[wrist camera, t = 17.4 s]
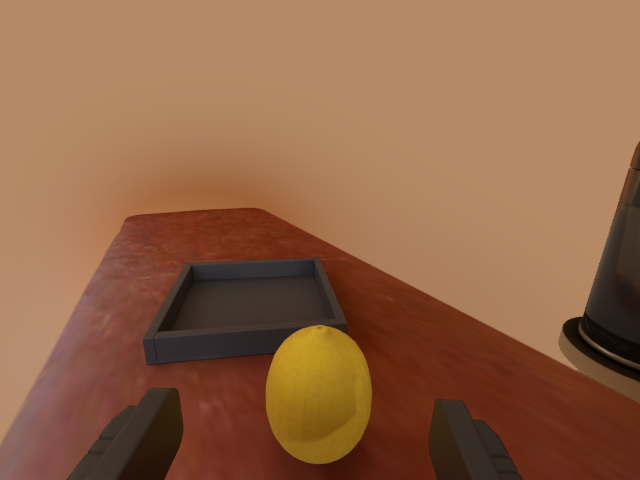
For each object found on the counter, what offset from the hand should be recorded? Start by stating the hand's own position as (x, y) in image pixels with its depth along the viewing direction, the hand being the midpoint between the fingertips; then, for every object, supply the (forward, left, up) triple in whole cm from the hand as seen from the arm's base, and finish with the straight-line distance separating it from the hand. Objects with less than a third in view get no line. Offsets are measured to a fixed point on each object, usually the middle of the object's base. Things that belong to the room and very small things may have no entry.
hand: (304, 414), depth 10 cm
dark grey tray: (+3, -22, -9) cm, 24 cm away
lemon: (-1, -6, -9) cm, 11 cm away
